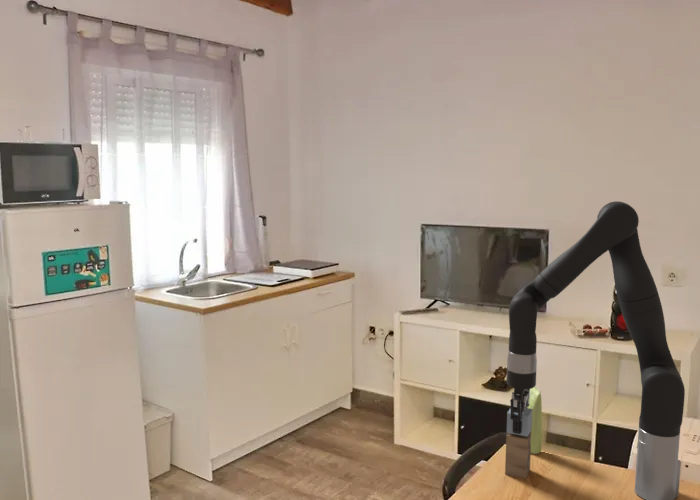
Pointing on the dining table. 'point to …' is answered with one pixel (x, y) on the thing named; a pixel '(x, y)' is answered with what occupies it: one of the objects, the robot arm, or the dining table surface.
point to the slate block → (525, 422)
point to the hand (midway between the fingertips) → (519, 428)
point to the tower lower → (517, 466)
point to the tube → (536, 420)
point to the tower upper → (518, 445)
